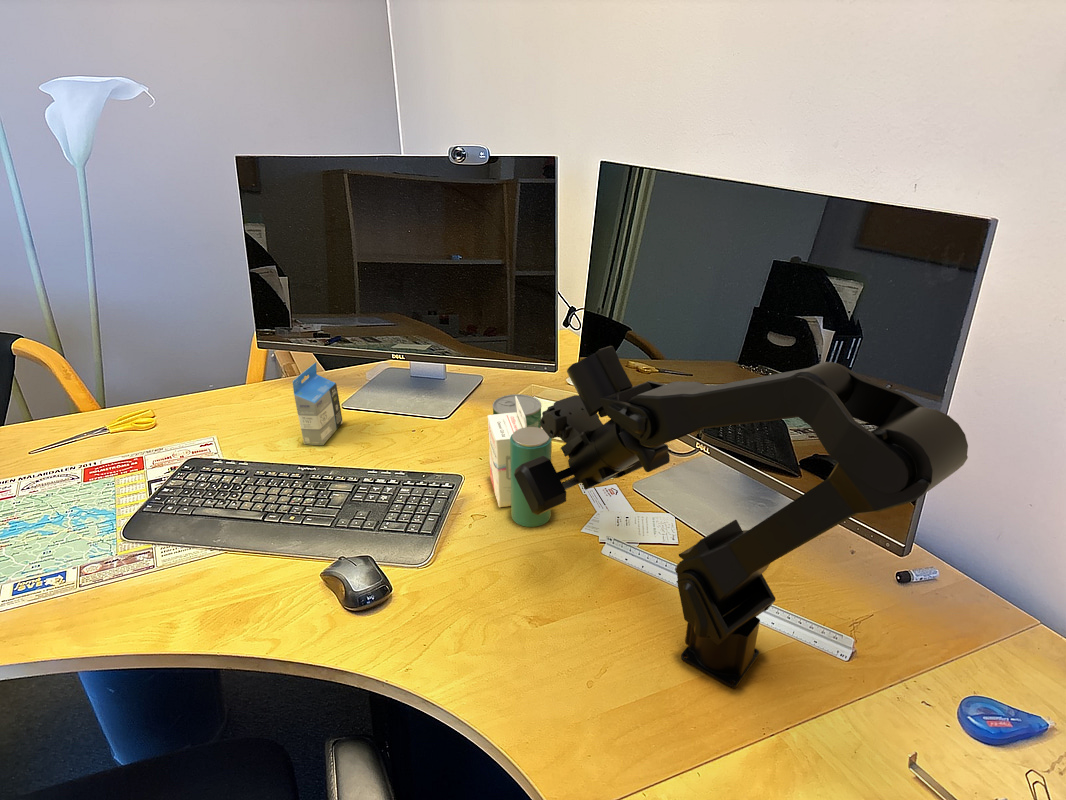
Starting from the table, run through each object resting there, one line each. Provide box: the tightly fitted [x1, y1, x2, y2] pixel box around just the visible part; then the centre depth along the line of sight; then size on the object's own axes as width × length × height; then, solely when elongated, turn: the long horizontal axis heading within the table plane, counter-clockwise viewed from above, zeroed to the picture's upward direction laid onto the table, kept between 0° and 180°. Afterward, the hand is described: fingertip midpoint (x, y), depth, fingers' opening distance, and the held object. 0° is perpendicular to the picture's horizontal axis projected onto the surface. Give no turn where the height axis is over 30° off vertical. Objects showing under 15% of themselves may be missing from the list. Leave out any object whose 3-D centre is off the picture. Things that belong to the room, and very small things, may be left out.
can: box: [510, 427, 553, 528], centre depth 96 cm, size 6×6×13 cm
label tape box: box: [291, 361, 344, 446], centre depth 120 cm, size 9×4×12 cm, turn 171°
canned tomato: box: [492, 393, 542, 429], centre depth 110 cm, size 8×8×11 cm
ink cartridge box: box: [487, 396, 527, 508], centre depth 102 cm, size 9×5×15 cm, turn 13°
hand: (554, 486), depth 92 cm, fingers open, 9 cm apart
